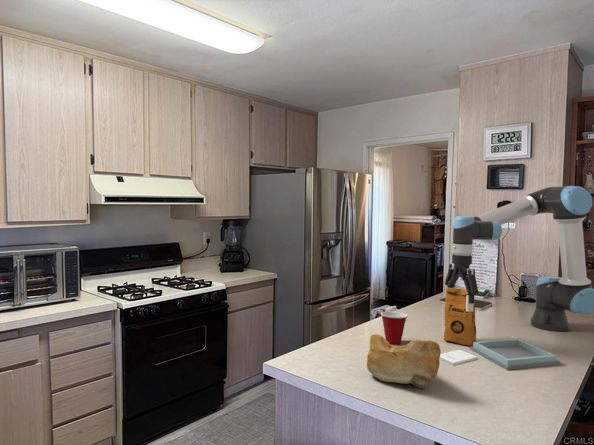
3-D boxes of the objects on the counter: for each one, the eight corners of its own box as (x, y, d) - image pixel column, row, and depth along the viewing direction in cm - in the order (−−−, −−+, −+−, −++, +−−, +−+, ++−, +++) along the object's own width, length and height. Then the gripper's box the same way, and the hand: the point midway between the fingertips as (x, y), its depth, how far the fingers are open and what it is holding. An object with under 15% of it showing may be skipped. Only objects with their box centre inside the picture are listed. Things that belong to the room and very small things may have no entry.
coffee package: (472, 349, 159) (473, 293, 158) (440, 341, 167) (441, 288, 165) (479, 341, 167) (480, 288, 165) (448, 335, 175) (449, 284, 173)
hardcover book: (480, 311, 215) (480, 307, 215) (439, 303, 231) (439, 299, 231) (491, 306, 226) (492, 302, 226) (451, 298, 243) (451, 295, 242)
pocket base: (517, 345, 164) (518, 337, 164) (560, 364, 145) (560, 356, 144) (469, 349, 159) (470, 341, 159) (507, 370, 140) (507, 361, 139)
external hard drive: (477, 360, 149) (452, 367, 143) (458, 353, 156) (435, 358, 151) (477, 356, 149) (453, 362, 143) (459, 349, 156) (435, 354, 150)
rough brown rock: (451, 382, 132) (452, 335, 132) (435, 397, 118) (436, 345, 119) (384, 366, 145) (385, 324, 146) (363, 379, 132) (364, 332, 132)
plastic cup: (409, 340, 168) (410, 311, 168) (404, 348, 159) (405, 318, 158) (383, 336, 173) (383, 308, 172) (377, 344, 163) (377, 315, 163)
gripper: (437, 250, 176) (435, 300, 177) (473, 258, 153) (470, 315, 154) (452, 250, 178) (450, 299, 179) (490, 258, 154) (487, 314, 156)
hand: (459, 307), depth 166 cm, fingers closed on coffee package, 12 cm apart
